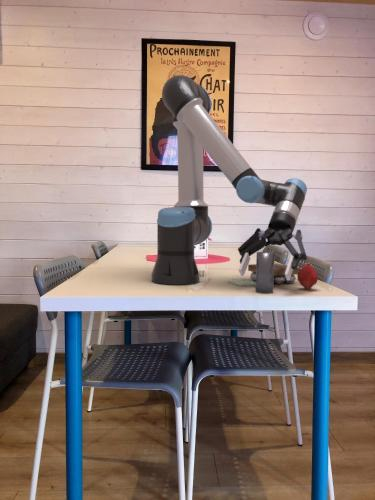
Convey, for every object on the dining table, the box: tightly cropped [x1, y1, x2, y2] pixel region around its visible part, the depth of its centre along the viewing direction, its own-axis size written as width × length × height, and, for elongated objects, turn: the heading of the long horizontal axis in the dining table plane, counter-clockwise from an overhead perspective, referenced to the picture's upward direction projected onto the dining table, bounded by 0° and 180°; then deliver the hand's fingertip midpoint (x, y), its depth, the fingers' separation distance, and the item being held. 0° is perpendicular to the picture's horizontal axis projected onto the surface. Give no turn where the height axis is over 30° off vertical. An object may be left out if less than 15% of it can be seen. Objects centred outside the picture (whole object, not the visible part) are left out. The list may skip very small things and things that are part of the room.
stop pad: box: [228, 279, 256, 287], centre depth 142 cm, size 7×7×1 cm
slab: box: [247, 262, 300, 276], centre depth 146 cm, size 11×12×2 cm
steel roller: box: [254, 251, 276, 294], centre depth 128 cm, size 5×5×11 cm
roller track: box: [250, 272, 296, 285], centre depth 146 cm, size 11×9×3 cm
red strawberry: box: [297, 262, 319, 291], centre depth 133 cm, size 6×6×8 cm
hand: (263, 275), depth 126 cm, fingers open, 13 cm apart
